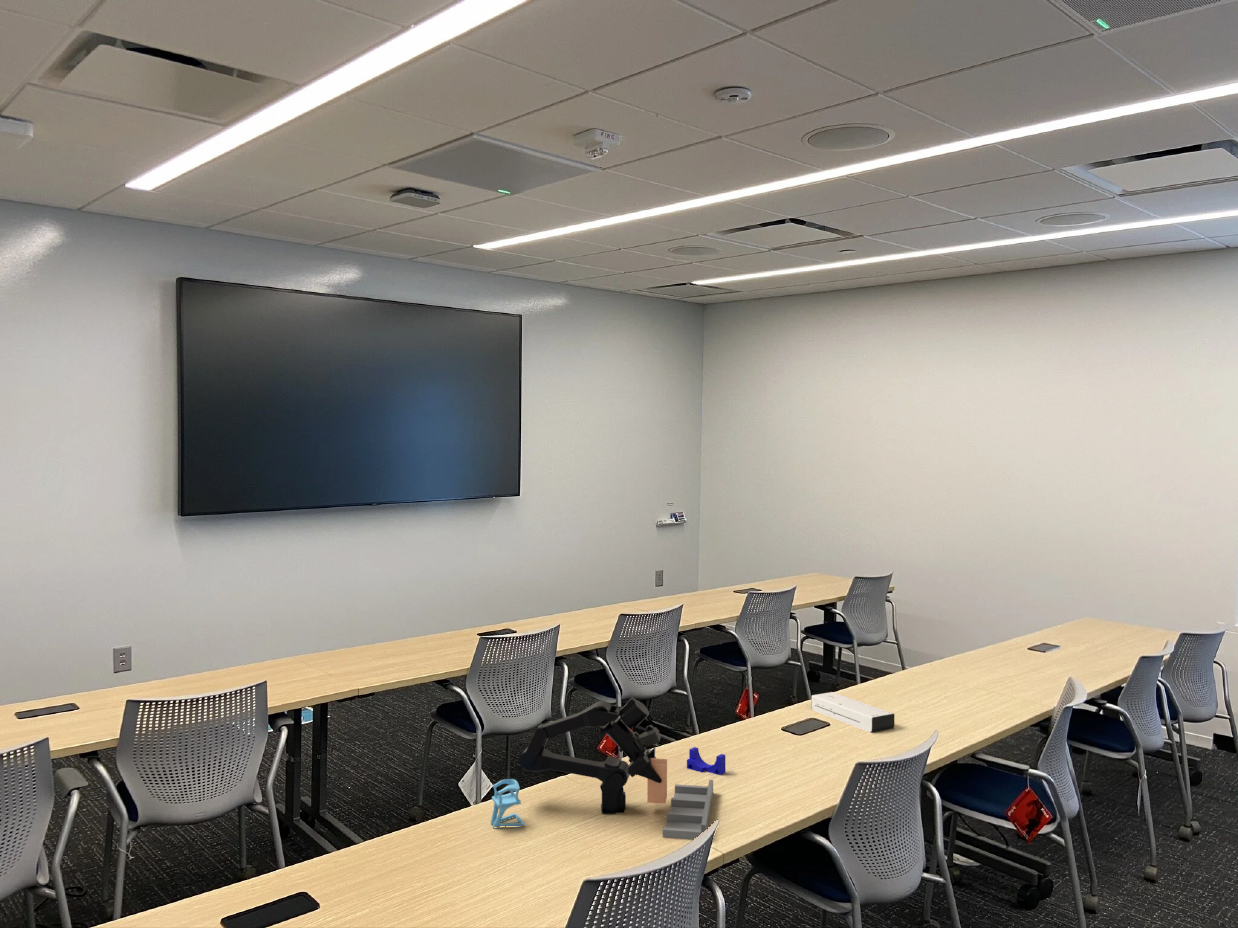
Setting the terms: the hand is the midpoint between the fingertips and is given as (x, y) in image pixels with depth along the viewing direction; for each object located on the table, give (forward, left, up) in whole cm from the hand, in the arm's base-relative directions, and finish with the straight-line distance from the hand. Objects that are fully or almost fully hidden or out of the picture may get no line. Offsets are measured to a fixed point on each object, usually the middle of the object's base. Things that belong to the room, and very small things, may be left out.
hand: (662, 778), depth 254 cm
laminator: (+84, +86, -11) cm, 121 cm away
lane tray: (+8, -2, -10) cm, 13 cm away
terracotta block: (-1, 0, -6) cm, 6 cm away
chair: (-44, -5, -10) cm, 45 cm away
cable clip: (+18, +33, -10) cm, 39 cm away
